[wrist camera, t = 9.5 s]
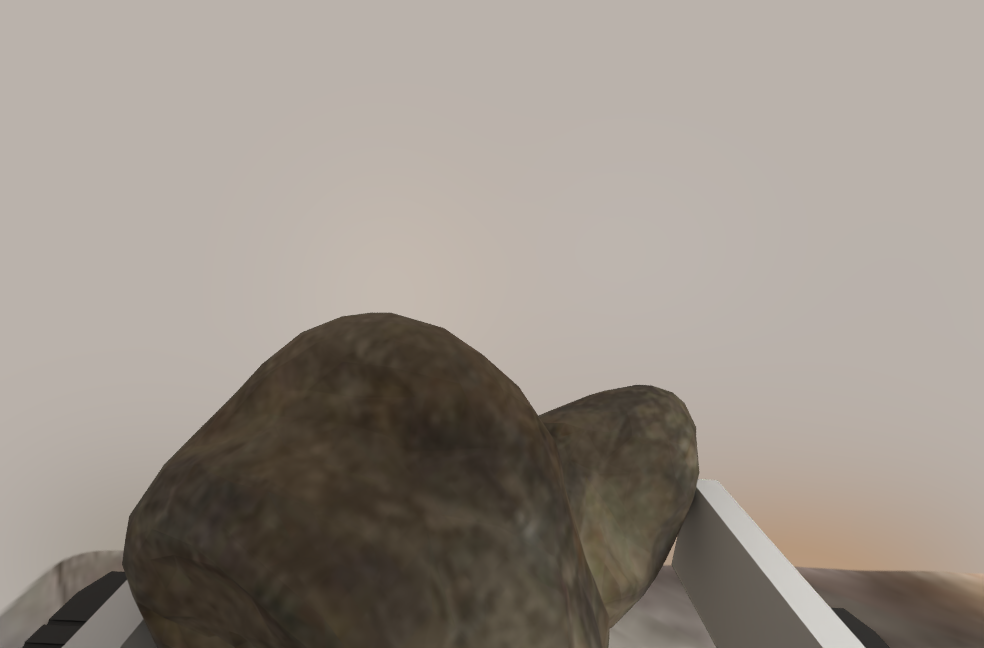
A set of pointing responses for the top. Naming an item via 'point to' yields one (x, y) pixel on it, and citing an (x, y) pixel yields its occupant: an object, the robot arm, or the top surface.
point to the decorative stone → (408, 503)
